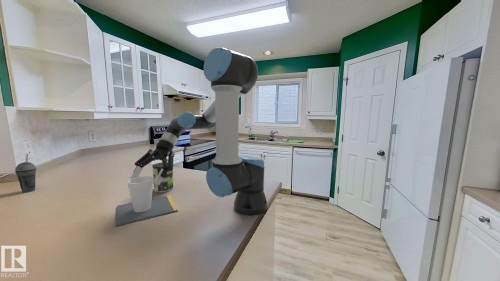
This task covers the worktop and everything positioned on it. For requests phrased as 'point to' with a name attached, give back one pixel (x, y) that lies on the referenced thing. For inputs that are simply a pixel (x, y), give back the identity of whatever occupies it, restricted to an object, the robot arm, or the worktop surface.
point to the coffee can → (166, 181)
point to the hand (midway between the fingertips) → (144, 182)
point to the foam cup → (141, 192)
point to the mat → (157, 208)
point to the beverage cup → (26, 176)
